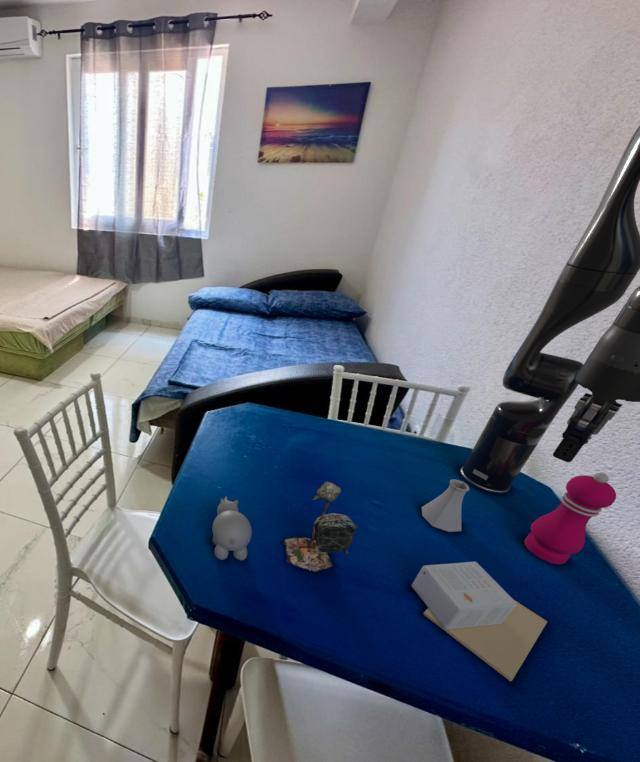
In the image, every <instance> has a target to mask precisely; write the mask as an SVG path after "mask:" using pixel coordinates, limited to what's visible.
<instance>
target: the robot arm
mask: <svg viewBox="0 0 640 762" xmlns="http://www.w3.org/2000/svg"><path fill="white" fill-rule="evenodd" d="M639 183H640V124H639V125H638V126H637V128H636V129H635V131H634V132H633V133H632V135H631V137H630V139H629V140H628V142H627V144H626V146H625V148H624V150H623V153H622V155H621V156H620V158H619V161H618V163H617V165H616V167H615V170H614V171H613V174H612V176H611V178H610V180H609V182H608V184H607V186H606V188H605V190H604V193H603V195H602V197H601V200H600V201H599V203H598V206H597V208H596V210H595V212H594V213H593V216H592V218H591V219H590V221H589V223H588V225H587V227H586V228H585V230H584V232H583V233H582V235H581V237H580V238H579V240H578V242H577V244H576V245H575V247H574V248H573V251H572V252H571V254H570V256H569V258H568V259H567V261H566V263H565V264H564V266H563V268H562V270H561V271H560V274H559V276H558V277H557V279H556V281H555V284H554V286H553V287H552V290H551V291H550V293H549V296H548V298H547V299H546V301H545V304H544V306H543V308H542V310H541V312H540V314H539V315H538V316H537V319H536V321H535V322H534V324H533V326H532V328H531V329H530V331H529V332H528V334H527V336H526V337H525V338H524V340H523V342H522V343H521V344H520V346H519V348H518V349H517V351H516V353H515V355H514V356H513V358H512V359H511V361H510V362H509V364H508V366H507V368H506V370H505V371H504V374H503V377H502V386H503V388H505V389H506V390H508V391H511V392H515V393H519V394H522V395H525V396H528V397H532V398H536V399H533V400H525V401H521V400H520V401H519V400H518V401H517V400H508V401H501V402H499V403H498V404H497V405H496V406H495V407H494V409H493V411H492V413H491V415H490V417H489V419H488V420H487V423H486V424H485V426H484V428H483V430H482V431H481V433H480V435H479V437H478V439H477V440H476V443H475V445H474V446H473V448H472V450H471V452H470V453H469V455H468V457H467V458H466V460H465V463H464V464H463V466H462V467H461V468H460V470H459V473H460V476H461V478H463V480H465V482H466V483H468V484H469V485H471V486H473V487H475V488H476V489H478V490H481V491H483V492H487V493H490V494H495V495H504V494H507V493H508V492H509V491H510V489H511V487H512V485H513V483H514V482H515V480H516V479H517V477H518V476H519V474H520V472H521V471H522V469H523V468H524V466H526V465H525V464H526V463H527V461H528V460H529V458H530V457H531V455H532V454H533V452H534V451H535V449H536V448H537V446H538V444H539V443H540V441H541V439H542V438H543V437H544V435H545V433H546V432H547V430H548V429H549V428H550V426H551V424H552V423H553V421H554V419H555V418H556V417H557V415H558V414H559V412H560V411H561V409H562V408H563V407H564V405H565V404H566V403H567V402H568V400H569V399H570V398H571V396H572V395H573V393H574V392H575V391H576V390H577V388H578V386H580V387H582V388H583V389H587V390H588V391H590V392H591V393H588V392H585V393H584V394H583V396H582V397H580V398H579V399H578V401H577V402H576V403H575V405H574V411H573V412H572V414H571V415H570V417H569V419H568V420H567V421H566V424H567V427H566V428H565V430H564V431H563V432H562V433H561V438H562V439H561V441H560V443H559V444H558V445H557V447H556V448H555V450H554V451H553V453H552V457H554V458H555V459H558V460H561V461H562V462H566V463H571V462H572V461H573V460H574V459H575V458H576V456H577V455H578V454H579V452H580V451H581V449H582V448H583V447H584V445H587V444H588V443H589V441H591V439H592V438H593V435H598V434H599V433H600V432H601V430H602V429H603V428H604V427H605V426H606V424H607V423H608V422H609V421H611V420H613V418H614V417H615V415H616V414H617V413H618V412H619V411H620V409H621V408H622V407H623V404H622V403H620V402H618V401H619V400H620V401H625V402H630V403H640V285H639V286H638V287H636V288H635V289H634V291H632V292H631V294H630V296H629V297H628V299H627V300H626V302H625V304H623V307H622V308H621V309H620V311H619V313H618V314H617V316H616V317H615V319H614V320H613V322H612V323H611V325H610V326H609V327H608V328H607V329H606V331H605V332H604V333H603V334H602V335H601V337H599V340H598V341H597V343H596V344H595V346H594V348H593V349H592V351H591V352H590V354H589V355H588V357H587V358H586V360H585V361H584V363H582V362H581V361H579V360H575V359H572V358H567V357H563V356H558V355H555V354H551V353H550V354H549V353H546V352H542V350H543V349H544V348H545V347H546V346H547V345H548V344H550V342H551V341H553V340H554V339H556V338H557V337H559V335H561V334H563V333H564V332H566V331H567V330H569V329H570V328H572V327H574V326H576V325H578V324H580V323H581V322H583V321H585V320H587V319H590V318H591V317H593V316H595V315H597V314H599V313H600V312H601V313H602V311H605V310H606V309H608V308H609V307H611V306H613V305H614V304H616V303H617V302H618V301H620V299H622V297H623V296H624V294H625V293H626V292H627V290H628V288H629V287H630V285H631V284H632V282H633V281H634V279H635V278H636V276H637V274H638V272H639V271H640V230H639V228H638V224H637V220H636V213H635V198H636V195H637V194H636V193H637V191H638V188H639Z"/></svg>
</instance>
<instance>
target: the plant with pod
mask: <svg viewBox="0 0 640 762" xmlns="http://www.w3.org/2000/svg"><path fill="white" fill-rule="evenodd" d="M341 492H342V489H341V487H339V486H337V485H336V484H335V483H334V482H331V481H324V482H323V484H322V485H321V486H320V487H319V488H318V489H317V490H316V494H317V495H315V496H314V497H313V498H312V500H313V501H315V500H317V499H323V500H325V504H324V508H323V511H322V513H321V516H320V515H319V517H317V518H316V519H315V521H314V522H313V525H312V526H313V528H312V530H313V531H312V532H311V535H312V536H311V538H309V537H300V536H299V537H296V536H294V537H293V538H292V537H290V538H285V540H284V541H283V544H284V545H285V547H284V548H285V550H286V551H285V554H286V562H287V563H289V564H290V565H292V566H295V567H298V568H301V569H305V570H309V571H310V572H311V571H312V573H315V572H319V571H322V570H328V569H329V568H332V567H334V564H333V562H332V561H331V558H330V557H329V555H328V554H329V553H340V552H342V551H343V552H344V553H345V554H349V553H348V552H349V551H348V550H347V549H348V548H349V547H350V546H351V544H353V539H354V534H355V533H356V528H358V525H356V524H355V523H354V521H353V520H352V518H351V517H350V516H348V515H345V514H340V513H335V512H332V513H327V509H328V507H329V505H330V503H332V502H334V501H336V500H337V499H338V497H339V496H340V494H341Z"/></svg>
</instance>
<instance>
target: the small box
mask: <svg viewBox="0 0 640 762" xmlns="http://www.w3.org/2000/svg"><path fill="white" fill-rule="evenodd" d="M410 586H411V588H412V589H413V590H414V591H415V593H416V594H417V595H418V597H419V598H420V599H421V600H422V602H423V603H424V604H425V605H426V607H427V609H428V608H429V609H430V610H431V612H432V613H433V614H434V615H435V617H436V618H437V619H438V621H439V622H440V623H441V624H442V626H443V627H444V628H445V629H455V628H464V627H475V626H484V625H495V624H502V622H503V621H504V620H505V619H506V618H507V617H508V615H509V614H510V613H511V612H512V610H513V609H514V608H515V607H516V606H517V603H516V602H515V601H516V600H515V599H514V598H513V597H512V596H510V595H509V593H508V592H507V591H505V589H504V588H503V587H502V586H500V584H499V583H498V582H497V581H496V580H495V579H494V578H493V577H492V576H491V575H490V574H489V573H488V572H487V571H486V570H485V569H484V568H483V567H482V566H481V565H480V564H479V563H478V562H477V561H465V562H454V563H453V562H451V563H440V564H427V565H426V564H425V565H423V566H422V567H421V569H420V570H419V571H418V573H417V575H416V577H415V579H414V580H413V582H412V584H411V585H410ZM513 599H514V600H515V601H514V600H513Z"/></svg>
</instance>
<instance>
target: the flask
mask: <svg viewBox="0 0 640 762" xmlns="http://www.w3.org/2000/svg"><path fill="white" fill-rule="evenodd" d="M469 491H470V486H469V485H468V484H467V482H465V481H462V480H459V479H456V478H455V479H450V480H449V485H448V487H447V488H446V490H445V491H443V493H441V494H440V495H438V496H437V497H436V498H434V499H433V500H431V501H429V502H427V503H425V504H424V505H423V506H421V515H422V517H423V518H424V519H425V521H426V522H428V523H429V524H430V525H431V526H432V527H434V528H437V529H440V530H442V531H444V532H445V531H446V532H447V533H453V532H454V533H455V532H462V509H463V508H462V507H463V506H462V505H463V500H464V497H465V494H466V493H468V492H469Z"/></svg>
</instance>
